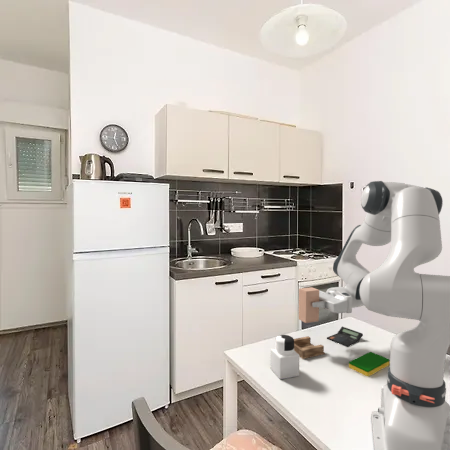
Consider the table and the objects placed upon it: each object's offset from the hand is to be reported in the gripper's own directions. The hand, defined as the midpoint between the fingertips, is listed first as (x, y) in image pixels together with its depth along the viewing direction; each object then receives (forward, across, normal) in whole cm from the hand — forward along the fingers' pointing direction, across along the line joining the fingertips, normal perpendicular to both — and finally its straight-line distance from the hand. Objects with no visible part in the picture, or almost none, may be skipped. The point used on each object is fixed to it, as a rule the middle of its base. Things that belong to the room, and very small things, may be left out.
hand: (306, 302), depth 116 cm
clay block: (-1, 0, +7) cm, 7 cm away
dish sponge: (-13, +18, +20) cm, 29 cm away
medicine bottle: (+16, +11, +19) cm, 27 cm away
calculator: (-21, -3, +19) cm, 29 cm away
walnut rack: (0, 0, +19) cm, 19 cm away
